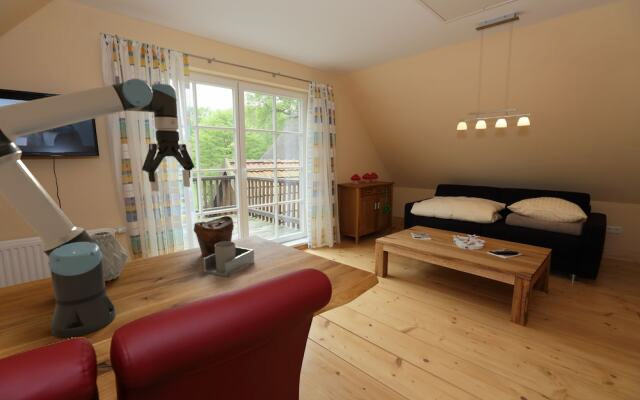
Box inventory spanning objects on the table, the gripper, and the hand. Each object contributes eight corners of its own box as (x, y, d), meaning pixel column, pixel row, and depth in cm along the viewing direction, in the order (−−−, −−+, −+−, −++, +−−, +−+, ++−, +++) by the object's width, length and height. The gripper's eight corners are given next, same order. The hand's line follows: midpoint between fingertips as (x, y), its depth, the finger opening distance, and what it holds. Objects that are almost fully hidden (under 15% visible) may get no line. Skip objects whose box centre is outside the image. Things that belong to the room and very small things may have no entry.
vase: (89, 273, 125) (83, 230, 122) (134, 267, 131) (130, 226, 128) (74, 290, 110) (66, 241, 107) (125, 283, 116) (120, 237, 113)
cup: (211, 269, 127) (210, 246, 125) (223, 262, 135) (222, 240, 133) (228, 271, 125) (227, 248, 123) (239, 264, 132) (238, 242, 131)
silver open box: (227, 277, 122) (226, 263, 121) (204, 271, 127) (203, 258, 126) (254, 262, 138) (253, 249, 137) (232, 257, 143) (232, 245, 142)
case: (186, 259, 140) (184, 222, 137) (209, 246, 160) (207, 213, 157) (221, 262, 137) (220, 224, 134) (240, 248, 157) (239, 215, 154)
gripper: (141, 127, 95) (147, 193, 99) (201, 131, 117) (204, 185, 121) (126, 128, 98) (132, 192, 102) (187, 132, 120) (191, 184, 124)
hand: (171, 188), depth 111 cm, fingers open, 13 cm apart
